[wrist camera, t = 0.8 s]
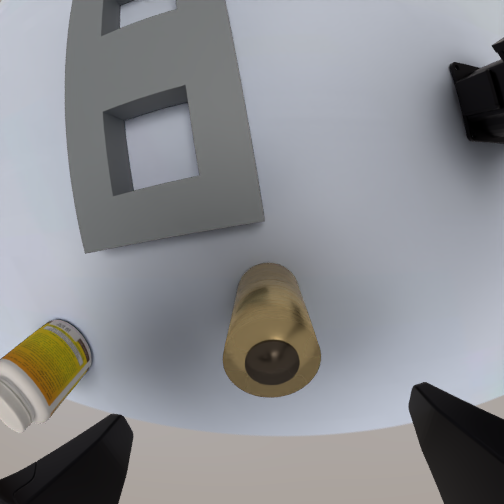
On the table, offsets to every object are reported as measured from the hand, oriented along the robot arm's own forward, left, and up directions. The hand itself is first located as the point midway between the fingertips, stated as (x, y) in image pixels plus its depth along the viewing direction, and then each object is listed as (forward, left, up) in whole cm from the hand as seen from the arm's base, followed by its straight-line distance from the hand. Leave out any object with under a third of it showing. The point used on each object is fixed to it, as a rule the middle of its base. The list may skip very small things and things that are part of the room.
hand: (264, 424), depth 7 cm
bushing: (0, +1, -12) cm, 12 cm away
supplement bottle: (+18, +4, -12) cm, 22 cm away
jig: (+5, -15, -12) cm, 20 cm away
